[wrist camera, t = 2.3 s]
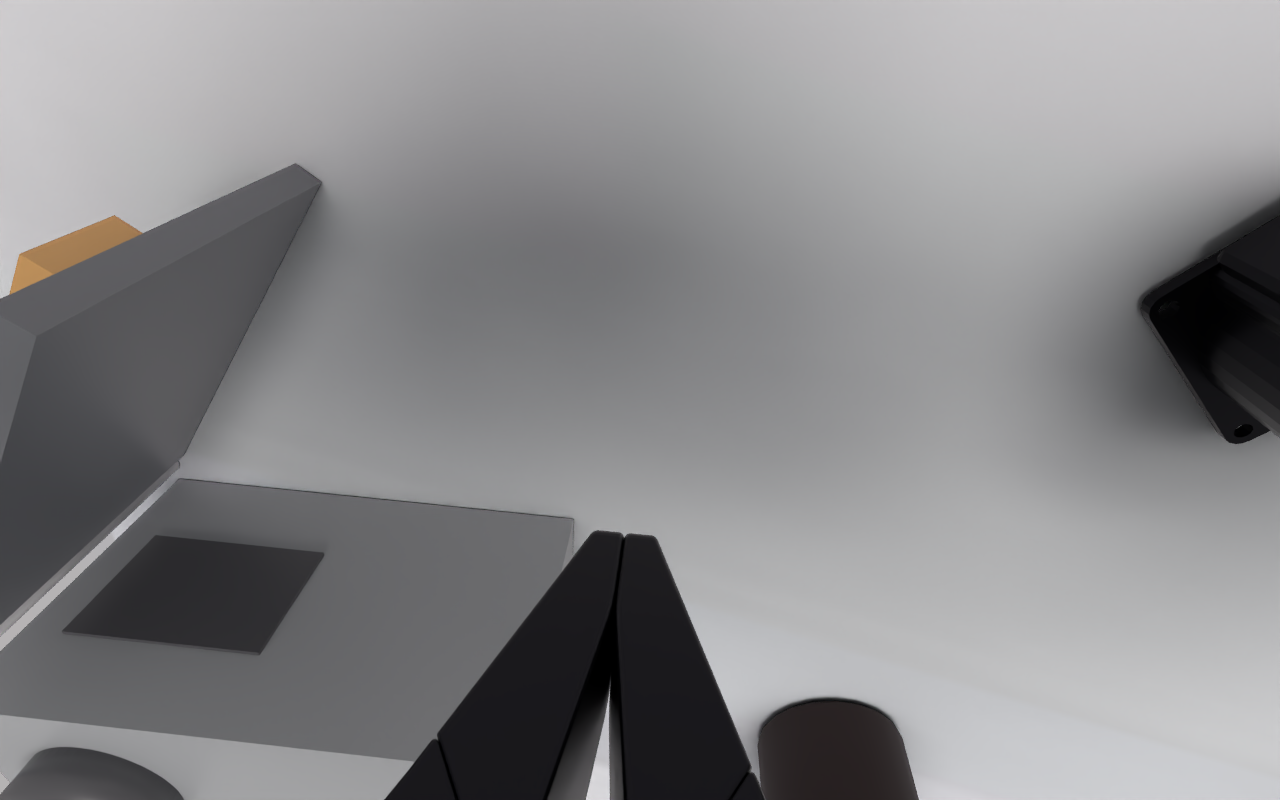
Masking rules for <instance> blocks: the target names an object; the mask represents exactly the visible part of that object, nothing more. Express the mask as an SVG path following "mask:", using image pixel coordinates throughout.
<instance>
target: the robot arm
mask: <svg viewBox="0 0 1280 800" xmlns="http://www.w3.org/2000/svg"><path fill="white" fill-rule="evenodd" d="M1169 301H1171V302H1170V304H1169V306H1168V307H1167V308H1165V309H1164V310H1161V311H1159V309H1160V307H1161V306H1162V305H1163V304H1164V303H1166V302H1169ZM1141 311H1142V314H1143V316H1144V318H1145V319H1146V321H1147V322H1148V324H1149V325H1150V327H1151V329H1152V330H1153V332H1154V333H1155V335H1156V337H1157V338H1158V340H1159V341H1160V343H1161V344H1162V346H1163V348H1164V349H1165V351H1166V352H1167V354H1168V355H1169V357H1170V359H1171V360H1172V362H1173V363H1174V365H1175V367H1176V368H1177V370H1178V371H1179V373H1180V374H1181V376H1182V378H1183V379H1184V381H1185V382H1186V384H1187V385H1188V387H1189V389H1190V390H1191V392H1192V393H1193V395H1194V397H1195V398H1196V400H1197V401H1198V403H1199V404H1200V406H1201V408H1202V409H1203V411H1204V412H1205V414H1206V415H1207V417H1208V419H1209V420H1210V422H1211V423H1212V425H1213V427H1214V428H1215V430H1216V431H1217V432H1218V433H1219V434H1220V435H1221V436H1222V437H1223V438H1224V439H1226V440H1227V441H1228V442H1229V443H1234V444H1239V443H1244V442H1247V441H1250V440H1252V439H1254V438H1256V437H1258V436H1260V435H1262V434H1265V433H1267V432H1269V431H1272V432H1273V433H1274V434H1275V435H1277V436H1278V437H1279V438H1280V216H1278V217H1276V218H1275V219H1273V220H1271V221H1270V222H1268V223H1266V224H1265V225H1263V226H1261V227H1260V228H1258V229H1256V230H1254V231H1253V232H1251V233H1249V234H1248V235H1246V236H1244V237H1243V238H1241V239H1239V240H1238V241H1236V242H1234V243H1233V244H1231V245H1229V246H1228V247H1226V248H1224V249H1223V250H1221V251H1219V252H1218V253H1216V254H1214V255H1213V256H1211V257H1209V258H1208V259H1206V260H1204V261H1202V262H1201V263H1199V264H1197V265H1196V266H1194V267H1192V268H1191V269H1189V270H1187V271H1186V272H1184V273H1182V274H1181V275H1179V276H1177V277H1176V278H1174V279H1172V280H1171V281H1169V282H1167V283H1166V284H1164V285H1162V286H1161V287H1159V288H1157V289H1156V290H1154V291H1152V292H1151V293H1150V294H1149V295H1147V296H1146V298H1145V299H1144V301H1143V302H1142V305H1141ZM1240 425H1242V426H1240ZM1239 426H1240V427H1239ZM1237 427H1239V428H1237ZM1236 428H1237V429H1236ZM609 690H610V701H609V759H610V800H766V799H765V796H764V794H763V792H762V789H761V787H760V784H759V782H758V780H757V777H756V775H755V774H754V773H752V772H751V768H752V767H751V764H750V761H749V759H748V756H747V754H746V752H745V749H744V747H743V744H742V742H741V740H740V737H739V735H738V732H737V730H736V728H735V725H734V723H733V720H732V718H731V716H730V713H729V711H728V708H727V706H726V704H725V701H724V699H723V696H722V694H721V692H720V689H719V687H718V684H717V682H716V680H715V677H714V675H713V672H712V670H711V668H710V665H709V663H708V660H707V658H706V656H705V653H704V651H703V648H702V646H701V644H700V641H699V639H698V636H697V634H696V631H695V629H694V627H693V624H692V622H691V619H690V617H689V615H688V612H687V610H686V607H685V605H684V603H683V600H682V598H681V595H680V593H679V591H678V588H677V586H676V583H675V581H674V579H673V576H672V574H671V571H670V569H669V567H668V564H667V562H666V559H665V557H664V555H663V552H662V550H661V547H660V545H659V543H658V541H657V539H656V538H655V537H654V536H651V535H641V534H627V535H626V536H625V538H624V536H623V534H621V533H619V532H609V531H599V530H597V531H594V532H593V533H591V534H590V536H589V537H588V538H587V539H586V541H585V542H584V543H583V545H582V546H581V547H580V549H579V550H578V551H577V552H576V554H575V555H574V556H573V558H572V559H571V560H570V562H569V563H568V564H567V565H566V567H565V568H564V569H563V571H562V572H561V573H560V574H559V576H558V577H557V578H556V580H555V581H554V582H553V584H552V585H551V586H550V587H549V589H548V590H547V591H546V593H545V594H544V595H543V597H542V598H541V599H540V600H539V602H538V603H537V604H536V606H535V607H534V608H533V609H532V611H531V612H530V613H529V615H528V616H527V617H526V619H525V620H524V621H523V622H522V624H521V625H520V626H519V628H518V629H517V630H516V632H515V633H514V634H513V635H512V637H511V638H510V639H509V641H508V642H507V643H506V645H505V646H504V647H503V648H502V650H501V651H500V652H499V654H498V655H497V656H496V657H495V659H494V660H493V661H492V663H491V664H490V665H489V667H488V668H487V669H486V670H485V672H484V673H483V674H482V676H481V677H480V678H479V680H478V681H477V682H476V683H475V685H474V686H473V687H472V689H471V690H470V691H469V692H468V694H467V695H466V696H465V698H464V699H463V700H462V702H461V703H460V704H459V705H458V707H457V708H456V709H455V711H454V712H453V713H452V715H451V716H450V717H449V718H448V720H447V721H446V722H445V724H444V725H443V726H442V727H441V729H440V730H439V731H438V733H437V739H438V740H437V739H432V740H431V741H430V743H429V744H428V745H427V746H426V748H425V749H424V750H423V752H422V753H421V754H420V756H419V757H418V758H417V759H416V761H415V762H414V763H413V765H412V766H411V767H410V769H409V770H408V771H407V772H406V773H405V775H404V776H403V777H402V778H401V780H400V781H399V782H398V783H397V784H396V786H395V787H394V788H393V789H392V791H391V792H390V793H389V794H388V796H387V797H386V798H385V799H384V800H586V796H587V792H588V787H589V783H590V779H591V774H592V770H593V766H594V761H595V757H596V753H597V748H598V744H599V740H600V736H601V731H602V727H603V723H604V718H605V713H606V708H607V703H608V697H609Z"/></svg>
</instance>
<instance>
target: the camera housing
mask: <svg viewBox="0 0 1280 800" xmlns="http://www.w3.org/2000/svg"><path fill="white" fill-rule="evenodd" d="M573 528H574V519H567V518H558V517H548V516H538V515H528V514H518V513H509V512H499V511H489V510H479V509H469V508H460V507H450V506H440V505H430V504H420V503H411V502H401V501H391V500H381V499H371V498H362V497H352V496H342V495H332V494H322V493H312V492H303V491H293V490H283V489H273V488H263V487H254V486H244V485H234V484H224V483H214V482H205V481H195V480H185V479H179V480H178V481H177V482H176V483H175V484H173V485H172V486H171V487H170V488H169V489H168V490H167V491H166V492H165V493H164V494H163V495H162V496H161V497H160V498H159V499H158V500H157V501H156V502H155V503H154V504H153V505H152V506H151V507H150V508H149V509H148V510H146V511H145V512H144V513H143V514H142V515H141V516H140V517H139V518H138V519H137V520H136V521H135V522H134V523H133V524H132V525H131V526H130V527H129V528H128V529H127V530H126V531H125V532H124V533H123V534H122V535H121V536H120V537H118V538H117V539H116V540H115V541H114V542H113V543H112V544H111V545H110V546H109V547H108V548H107V549H106V550H105V551H104V552H103V553H102V554H101V555H100V556H99V557H98V558H97V559H96V560H95V561H94V562H93V563H92V564H91V565H89V567H87V568H86V569H85V570H84V571H83V572H82V573H81V574H80V575H79V576H78V577H77V578H76V579H75V580H74V581H73V582H72V583H71V584H70V585H69V586H68V587H67V588H66V589H65V590H63V591H62V592H61V593H60V594H59V595H58V596H57V597H56V598H55V599H54V600H53V601H52V602H51V603H50V604H49V605H48V606H47V607H46V608H45V609H44V610H43V611H42V612H41V613H40V614H39V615H38V616H37V617H35V618H34V620H32V621H31V622H30V623H29V624H28V625H27V626H26V627H25V628H24V629H23V630H22V631H21V632H20V633H19V634H18V635H17V636H16V637H15V638H14V639H13V640H12V641H11V642H10V643H9V644H8V645H6V647H4V648H3V649H2V650H1V651H0V772H1V774H2V775H3V776H4V777H5V778H6V779H7V780H8V781H9V782H10V784H9V785H8V786H7V787H6V789H5V790H4V791H3V792H2V793H1V794H0V800H384V799H385V798H386V797H387V796H388V794H389V793H390V792H391V791H392V789H393V788H394V787H395V786H396V784H397V783H398V782H399V781H400V780H401V778H402V777H403V776H404V775H405V773H406V772H407V771H408V770H409V769H410V767H411V766H412V765H413V763H414V762H415V761H416V759H417V758H418V757H419V756H420V754H421V753H422V752H423V750H424V749H425V748H426V746H427V745H428V744H429V743H430V741H431V740H432V739H437V733H438V731H439V730H440V729H441V727H442V726H443V725H444V724H445V722H446V721H447V720H448V718H449V717H450V716H451V715H452V713H453V712H454V711H455V709H456V708H457V707H458V705H459V704H460V703H461V702H462V700H463V699H464V698H465V696H466V695H467V694H468V692H469V691H470V690H471V689H472V687H473V686H474V685H475V683H476V682H477V681H478V680H479V678H480V677H481V676H482V674H483V673H484V672H485V670H486V669H487V668H488V667H489V665H490V664H491V663H492V661H493V660H494V659H495V657H496V656H497V655H498V654H499V652H500V651H501V650H502V648H503V647H504V646H505V645H506V643H507V642H508V641H509V639H510V638H511V637H512V635H513V634H514V633H515V632H516V630H517V629H518V628H519V626H520V625H521V624H522V622H523V621H524V620H525V619H526V617H527V616H528V615H529V613H530V612H531V611H532V609H533V608H534V607H535V606H536V604H537V603H538V602H539V600H540V599H541V598H542V597H543V595H544V594H545V593H546V591H547V590H548V589H549V587H550V586H551V585H552V584H553V582H554V581H555V580H556V578H557V577H558V576H559V574H560V573H561V572H562V571H563V569H564V568H565V567H566V565H567V564H568V563H569V562H570V560H571V559H572V558H573ZM437 740H438V739H437Z"/></svg>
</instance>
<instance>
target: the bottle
mask: <svg viewBox="0 0 1280 800" xmlns="http://www.w3.org/2000/svg"><path fill="white" fill-rule="evenodd" d="M758 755H759V768H760V781H761V789H762V792H763V794H764V796H765V799H766V800H919V799H918V795H917V791H916V787H915V784H914V780H913V776H912V772H911V769H910V765H909V761H908V757H907V754H906V750H905V746H904V743H903V739H902V737H901V735H900V733H899V732H898V730H897V729H896V727H895V725H894V724H893V722H892V721H890V720H889V719H888V718H886V717H885V716H883V715H882V714H880V713H879V712H877V711H875V710H873V709H870V708H867V707H864V706H861V705H859V704H855V703H847V702H840V701H823V702H811V703H807V704H803V705H799V706H795V707H792V708H790V709H788V710H786V711H784V712H782V713H780V714H778V715H776V716H775V717H774V718H773V719H772V720H771V721H770V722H769V723H768V724H767V725H765V726H764V727H763V729H762V732H761V735H760V737H759V741H758Z"/></svg>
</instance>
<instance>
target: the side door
mask: <svg viewBox="0 0 1280 800" xmlns="http://www.w3.org/2000/svg"><path fill="white" fill-rule="evenodd" d="M320 184H321V181H319V180H318V179H317V178H315V177H314V176H312V175H311V174H310V173H308V172H307V171H305V170H304V169H302V168H301V167H300V166H298V165H297V164H293V165H291V166H289V167H287V168H284V169H282V170H280V171H278V172H276V173H273V174H271V175H269V176H267V177H265V178H263V179H260V180H258V181H256V182H254V183H252V184H250V185H247V186H245V187H243V188H241V189H239V190H236V191H234V192H232V193H230V194H228V195H226V196H223V197H221V198H219V199H217V200H215V201H212V202H210V203H208V204H206V205H204V206H202V207H199V208H197V209H195V210H193V211H191V212H189V213H186V214H184V215H182V216H180V217H178V218H175V219H173V220H171V221H169V222H167V223H165V224H162V225H160V226H158V227H156V228H154V229H152V230H149V231H147V232H145V233H142V232H140V231H138V230H137V229H135V228H134V227H132V226H131V225H129V224H127V223H126V222H124V221H123V220H121V219H119V218H118V217H116V216H115V215H114V216H112V217H109V218H107V219H105V220H102V221H100V222H97V223H95V224H92V225H90V226H87V227H85V228H82V229H80V230H77V231H75V232H72V233H70V234H68V235H65V236H63V237H60V238H58V239H55V240H53V241H50V242H48V243H45V244H43V245H40V246H38V247H36V248H33V249H31V250H28V251H26V252H23V253H21V254H19V258H18V262H17V266H16V270H15V274H14V278H13V282H12V286H11V290H10V294H9V295H8V296H6V297H3V298H1V299H0V637H1V635H3V634H4V633H5V632H6V631H7V630H8V629H9V628H10V627H11V626H12V625H13V624H14V623H15V622H16V621H17V620H19V619H20V618H21V617H22V616H23V615H24V614H25V613H26V612H27V611H28V610H29V609H30V608H31V607H32V606H33V605H34V604H36V603H37V602H38V601H39V600H40V599H41V598H42V597H43V596H44V595H45V594H46V593H47V592H48V591H49V590H50V589H51V588H52V587H54V586H55V585H56V583H58V582H59V581H60V580H61V579H62V578H63V577H64V576H65V575H66V574H67V573H68V572H69V571H71V570H72V569H73V568H74V567H75V566H76V565H77V564H78V563H79V562H80V561H81V560H82V559H83V558H84V557H85V556H86V555H87V554H89V553H90V551H92V550H93V549H94V548H95V547H96V546H97V545H98V544H99V543H100V542H101V541H102V540H103V539H104V538H106V537H107V536H108V535H109V534H110V533H111V532H112V531H113V530H114V529H115V528H116V527H117V526H118V525H119V524H120V523H121V522H122V521H124V520H125V519H126V518H127V517H128V516H129V515H130V514H131V513H132V512H133V511H134V510H135V509H136V508H137V507H138V506H139V505H141V504H142V503H143V502H144V501H145V500H146V499H147V498H148V497H149V496H150V495H151V494H152V493H153V492H154V491H155V490H156V489H157V488H159V487H160V486H161V485H162V484H163V483H164V482H165V481H166V480H167V479H168V478H169V477H170V476H171V475H172V474H173V473H174V472H176V471H177V470H178V469H179V462H178V460H179V459H180V458H181V457H182V456H183V455H184V454H185V452H186V450H187V448H188V446H189V444H190V442H191V440H192V438H193V436H194V434H195V432H196V430H197V428H198V426H199V424H200V422H201V420H202V418H203V416H204V414H205V412H206V410H207V408H208V406H209V404H210V402H211V400H212V398H213V396H214V394H215V392H216V390H217V388H218V386H219V384H220V382H221V380H222V378H223V376H224V374H225V372H226V370H227V368H228V366H229V365H230V363H231V361H232V359H233V357H234V355H235V353H236V351H237V349H238V347H239V345H240V343H241V341H242V339H243V337H244V335H245V333H246V331H247V329H248V327H249V325H250V323H251V321H252V319H253V317H254V315H255V313H256V311H257V309H258V307H259V305H260V303H261V301H262V299H263V297H264V295H265V293H266V291H267V289H268V287H269V285H270V283H271V281H272V279H273V277H274V275H275V273H276V271H277V269H278V267H279V265H280V263H281V262H282V260H283V258H284V256H285V254H286V252H287V250H288V248H289V246H290V244H291V242H292V240H293V238H294V236H295V234H296V232H297V230H298V228H299V226H300V224H301V222H302V220H303V218H304V216H305V214H306V212H307V210H308V208H309V206H310V204H311V202H312V200H313V198H314V196H315V194H316V192H317V190H318V188H319V186H320Z"/></svg>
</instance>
